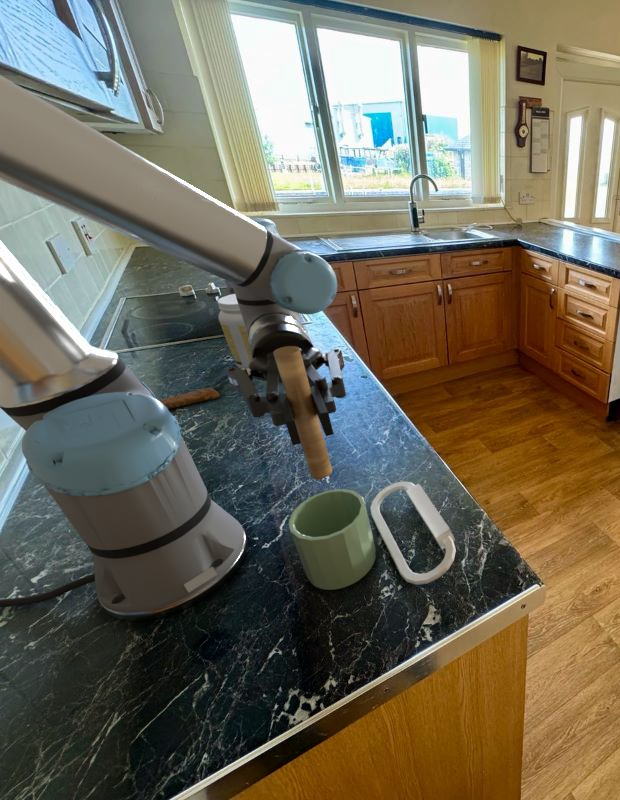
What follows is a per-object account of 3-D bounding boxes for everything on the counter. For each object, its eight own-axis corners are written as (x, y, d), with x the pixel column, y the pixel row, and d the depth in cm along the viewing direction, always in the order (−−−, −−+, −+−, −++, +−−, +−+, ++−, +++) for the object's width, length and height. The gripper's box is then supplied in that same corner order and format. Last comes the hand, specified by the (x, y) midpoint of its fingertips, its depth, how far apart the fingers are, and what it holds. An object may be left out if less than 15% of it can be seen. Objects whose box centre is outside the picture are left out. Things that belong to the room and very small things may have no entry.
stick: (312, 482, 50) (274, 357, 42) (309, 470, 52) (271, 348, 44) (334, 475, 51) (301, 352, 43) (330, 464, 53) (297, 344, 45)
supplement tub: (298, 352, 116) (281, 291, 107) (275, 372, 105) (255, 305, 97) (252, 352, 115) (231, 290, 107) (225, 371, 105) (200, 305, 96)
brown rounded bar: (212, 389, 97) (206, 375, 95) (222, 396, 94) (216, 382, 92) (101, 425, 84) (93, 410, 82) (109, 435, 81) (100, 419, 79)
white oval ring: (369, 508, 68) (359, 493, 65) (415, 481, 71) (407, 465, 68) (416, 603, 54) (405, 588, 51) (471, 564, 57) (463, 548, 54)
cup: (312, 601, 52) (293, 551, 48) (302, 553, 58) (285, 504, 54) (383, 570, 56) (372, 521, 52) (366, 528, 62) (355, 481, 58)
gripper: (345, 361, 65) (392, 436, 48) (226, 385, 58) (231, 484, 41) (335, 313, 61) (382, 377, 44) (206, 332, 54) (203, 418, 37)
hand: (310, 428), depth 43 cm, fingers closed on stick, 2 cm apart
